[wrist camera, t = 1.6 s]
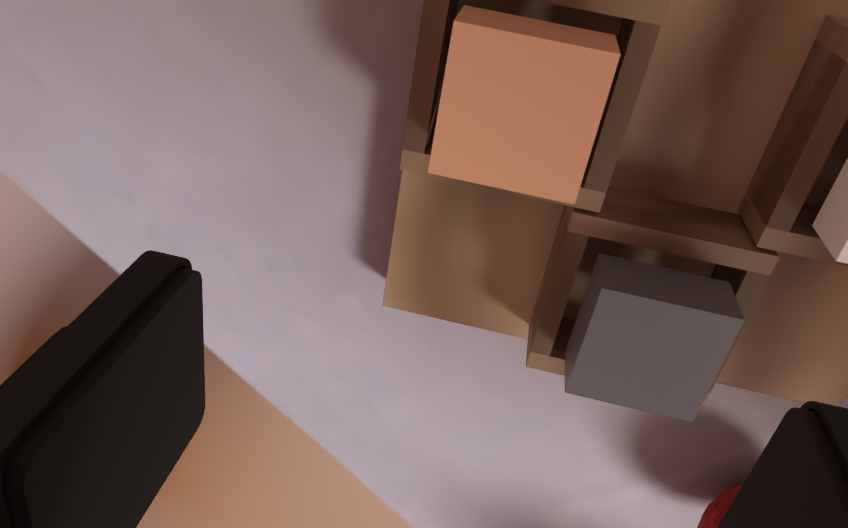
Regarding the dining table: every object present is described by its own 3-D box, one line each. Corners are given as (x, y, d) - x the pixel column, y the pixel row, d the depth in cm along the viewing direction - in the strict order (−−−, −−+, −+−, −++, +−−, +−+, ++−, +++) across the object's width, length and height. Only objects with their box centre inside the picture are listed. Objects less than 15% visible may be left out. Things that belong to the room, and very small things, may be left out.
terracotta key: (615, 35, 21) (620, 54, 19) (573, 174, 24) (574, 204, 22) (463, 4, 22) (453, 20, 20) (439, 145, 24) (427, 172, 22)
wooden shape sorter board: (1051, 11, 23) (1159, 46, 19) (821, 381, 32) (860, 460, 28) (451, -103, 25) (427, -94, 20) (391, 282, 34) (366, 344, 30)
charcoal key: (729, 282, 25) (744, 320, 23) (682, 380, 27) (692, 422, 25) (598, 253, 25) (602, 288, 23) (564, 352, 28) (564, 392, 26)
